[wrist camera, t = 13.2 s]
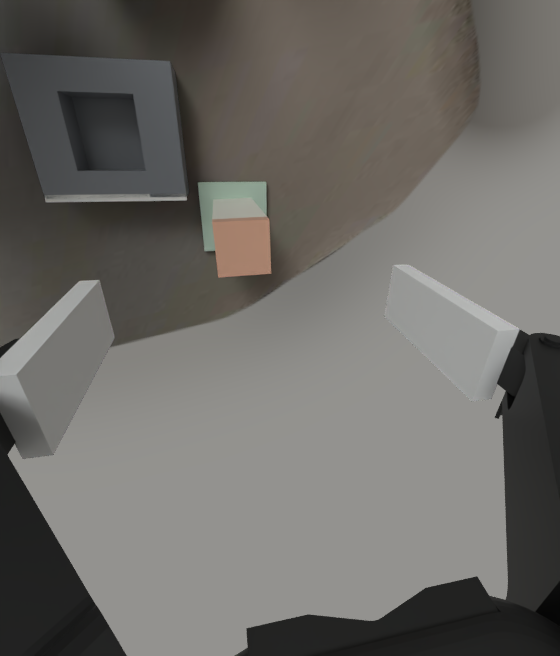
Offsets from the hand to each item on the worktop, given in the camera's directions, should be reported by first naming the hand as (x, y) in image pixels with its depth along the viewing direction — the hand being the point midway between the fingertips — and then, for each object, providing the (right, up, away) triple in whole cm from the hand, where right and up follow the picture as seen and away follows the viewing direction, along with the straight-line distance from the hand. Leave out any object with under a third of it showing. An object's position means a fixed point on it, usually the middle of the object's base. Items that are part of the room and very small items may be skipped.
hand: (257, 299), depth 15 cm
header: (-14, +17, +16) cm, 27 cm away
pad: (-4, +11, +21) cm, 24 cm away
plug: (-4, +11, +20) cm, 23 cm away
